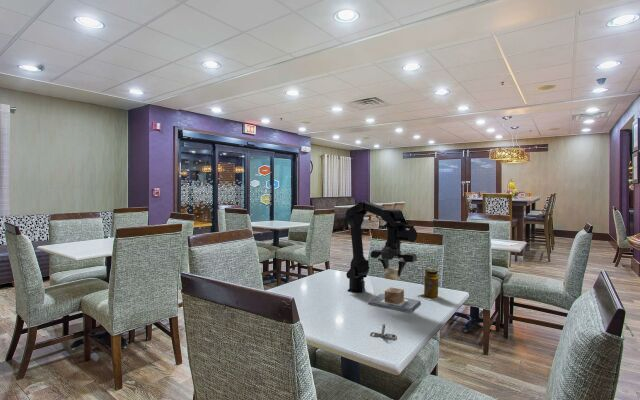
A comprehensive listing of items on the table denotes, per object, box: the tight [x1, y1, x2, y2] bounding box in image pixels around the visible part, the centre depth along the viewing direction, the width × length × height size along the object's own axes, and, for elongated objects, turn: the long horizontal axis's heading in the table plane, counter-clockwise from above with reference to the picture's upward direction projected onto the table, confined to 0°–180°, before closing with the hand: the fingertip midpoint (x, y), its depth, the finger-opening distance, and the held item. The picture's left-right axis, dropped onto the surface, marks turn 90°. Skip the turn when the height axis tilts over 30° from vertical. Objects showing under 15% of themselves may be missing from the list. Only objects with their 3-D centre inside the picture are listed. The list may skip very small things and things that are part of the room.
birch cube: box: [384, 266, 402, 281], centre depth 149 cm, size 5×5×4 cm
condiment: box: [416, 269, 442, 301], centre depth 159 cm, size 7×8×12 cm
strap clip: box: [369, 323, 397, 341], centre depth 116 cm, size 8×3×4 cm, turn 69°
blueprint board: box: [367, 293, 421, 313], centre depth 149 cm, size 18×14×1 cm
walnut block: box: [384, 287, 405, 304], centre depth 149 cm, size 6×7×4 cm
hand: (393, 275), depth 149 cm, fingers closed on birch cube, 5 cm apart
